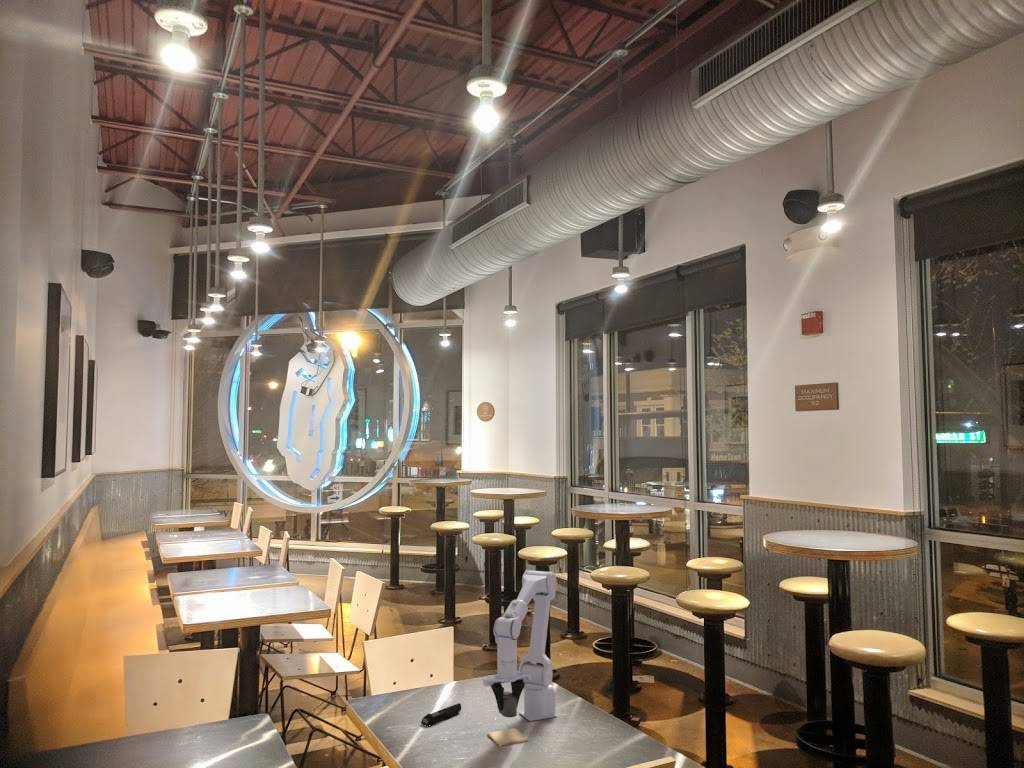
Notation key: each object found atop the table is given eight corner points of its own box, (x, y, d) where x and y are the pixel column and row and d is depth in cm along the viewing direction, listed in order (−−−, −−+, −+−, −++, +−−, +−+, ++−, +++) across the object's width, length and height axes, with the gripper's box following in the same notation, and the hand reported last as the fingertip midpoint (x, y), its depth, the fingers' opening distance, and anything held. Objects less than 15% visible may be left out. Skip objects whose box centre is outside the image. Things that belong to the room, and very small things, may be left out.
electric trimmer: (464, 714, 236) (464, 703, 237) (428, 728, 225) (428, 717, 225) (455, 711, 239) (455, 701, 239) (420, 725, 227) (420, 714, 227)
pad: (515, 730, 222) (515, 727, 222) (528, 740, 214) (528, 738, 214) (487, 735, 218) (487, 732, 218) (499, 746, 210) (499, 744, 210)
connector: (518, 716, 214) (518, 698, 215) (506, 718, 213) (506, 700, 213) (506, 706, 222) (506, 688, 223) (493, 708, 221) (493, 690, 221)
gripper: (489, 666, 211) (489, 716, 210) (535, 660, 217) (536, 708, 216) (480, 660, 218) (480, 708, 216) (525, 654, 223) (525, 701, 222)
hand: (507, 708), depth 217 cm, fingers closed on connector, 4 cm apart
